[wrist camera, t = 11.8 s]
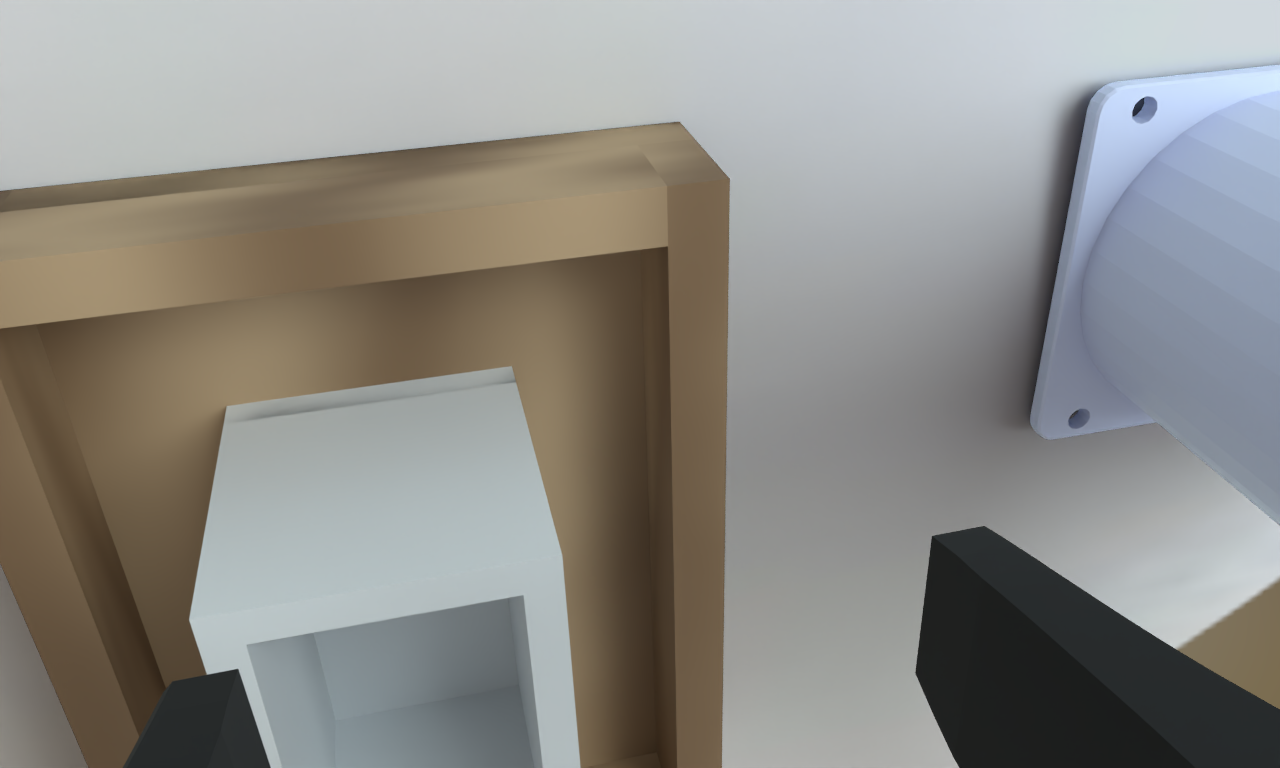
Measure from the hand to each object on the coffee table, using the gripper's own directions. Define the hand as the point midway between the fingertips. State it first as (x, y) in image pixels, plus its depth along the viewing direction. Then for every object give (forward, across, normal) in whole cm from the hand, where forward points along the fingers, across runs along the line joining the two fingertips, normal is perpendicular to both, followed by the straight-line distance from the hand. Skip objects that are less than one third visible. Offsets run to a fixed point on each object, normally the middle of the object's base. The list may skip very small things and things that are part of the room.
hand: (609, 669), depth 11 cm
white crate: (+9, +3, +6) cm, 11 cm away
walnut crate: (+10, +3, +6) cm, 12 cm away
